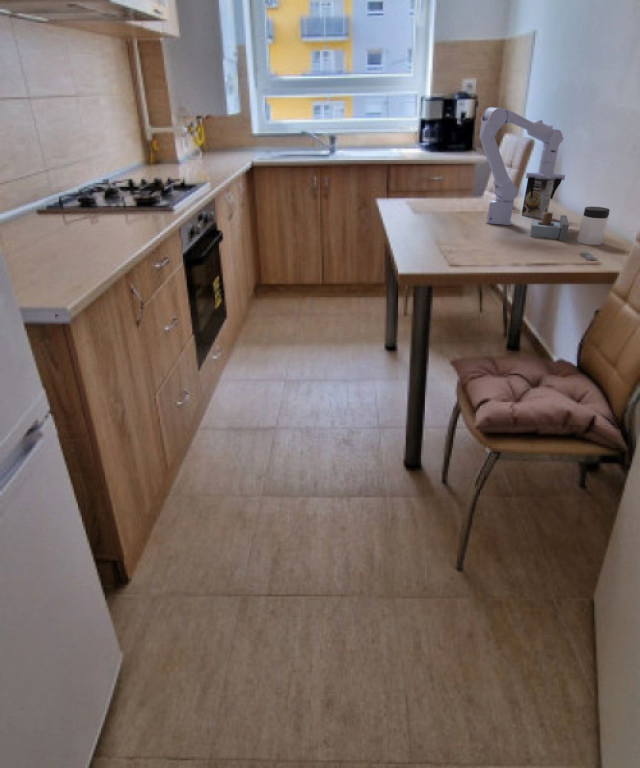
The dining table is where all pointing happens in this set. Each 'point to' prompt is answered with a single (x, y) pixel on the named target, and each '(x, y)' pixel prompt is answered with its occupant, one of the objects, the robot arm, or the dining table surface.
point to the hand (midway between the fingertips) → (541, 197)
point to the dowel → (546, 218)
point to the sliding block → (545, 229)
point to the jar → (593, 225)
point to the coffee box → (537, 198)
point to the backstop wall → (563, 228)
